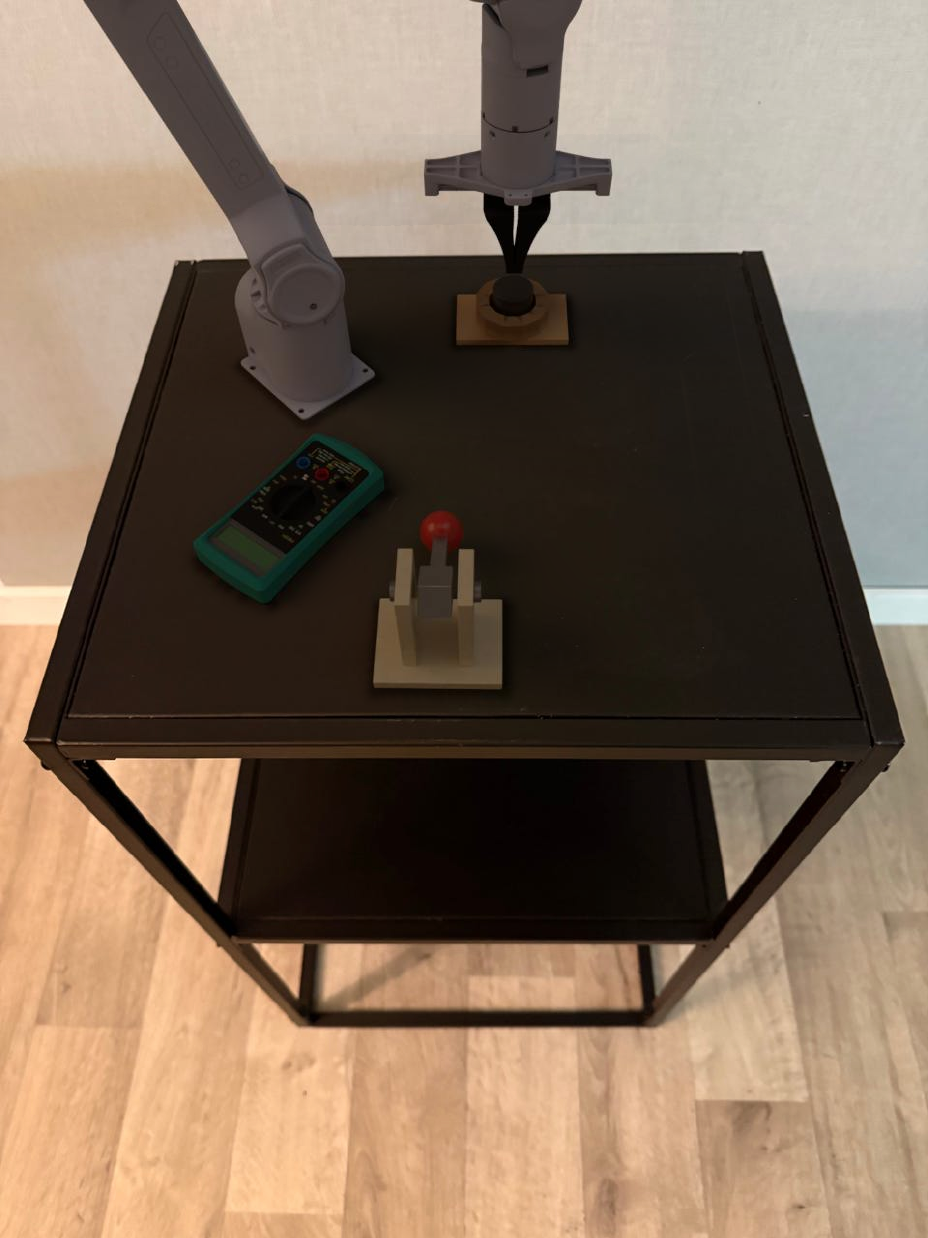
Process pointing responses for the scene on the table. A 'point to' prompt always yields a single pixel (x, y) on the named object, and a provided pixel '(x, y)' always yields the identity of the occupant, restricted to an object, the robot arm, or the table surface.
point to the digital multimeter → (289, 516)
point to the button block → (511, 320)
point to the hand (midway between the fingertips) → (514, 265)
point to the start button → (512, 295)
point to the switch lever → (438, 564)
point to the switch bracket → (438, 635)
